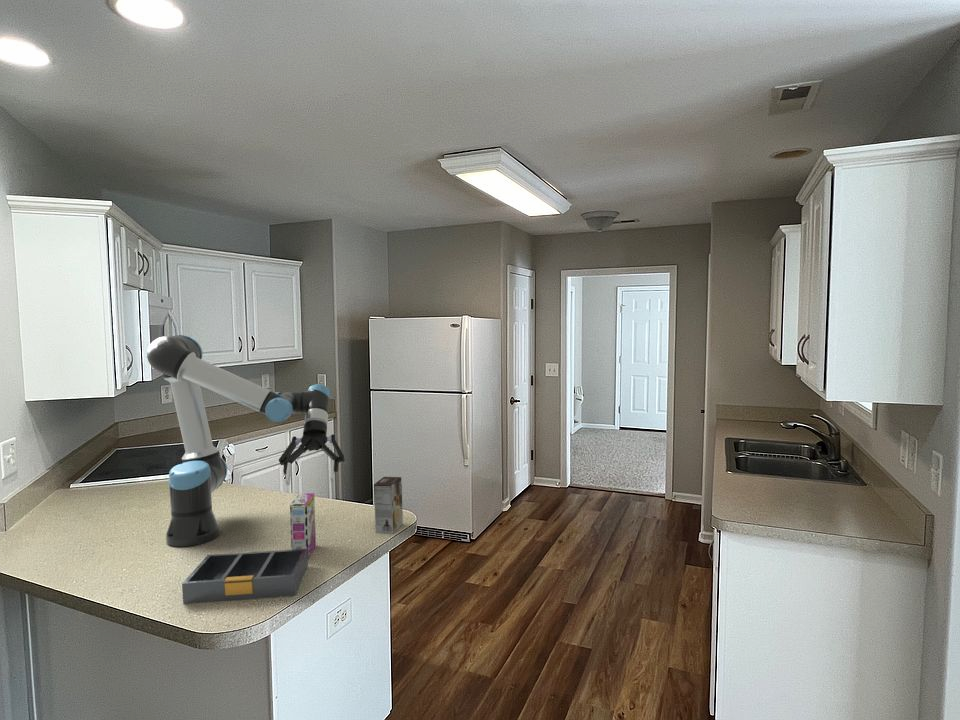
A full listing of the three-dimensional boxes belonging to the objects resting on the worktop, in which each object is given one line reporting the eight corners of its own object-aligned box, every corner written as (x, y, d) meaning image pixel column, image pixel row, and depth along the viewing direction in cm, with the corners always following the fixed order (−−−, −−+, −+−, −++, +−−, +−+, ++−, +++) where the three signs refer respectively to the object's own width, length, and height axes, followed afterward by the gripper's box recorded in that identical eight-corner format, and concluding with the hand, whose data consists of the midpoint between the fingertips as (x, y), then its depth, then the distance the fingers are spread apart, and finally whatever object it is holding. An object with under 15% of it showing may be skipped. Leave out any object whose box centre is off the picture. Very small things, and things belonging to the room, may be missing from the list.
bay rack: (182, 604, 137) (181, 583, 137) (208, 572, 154) (207, 553, 154) (294, 596, 140) (293, 575, 140) (308, 566, 157) (307, 547, 157)
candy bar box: (309, 560, 161) (306, 504, 160) (291, 561, 161) (288, 505, 159) (317, 545, 172) (314, 492, 171) (300, 545, 172) (298, 493, 171)
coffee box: (385, 522, 190) (383, 475, 189) (403, 523, 189) (402, 476, 188) (374, 532, 181) (373, 483, 180) (393, 534, 180) (392, 484, 179)
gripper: (354, 429, 194) (351, 485, 180) (279, 433, 191) (271, 490, 177) (352, 416, 188) (349, 473, 174) (274, 420, 185) (265, 478, 172)
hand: (309, 481), depth 176 cm, fingers open, 13 cm apart
